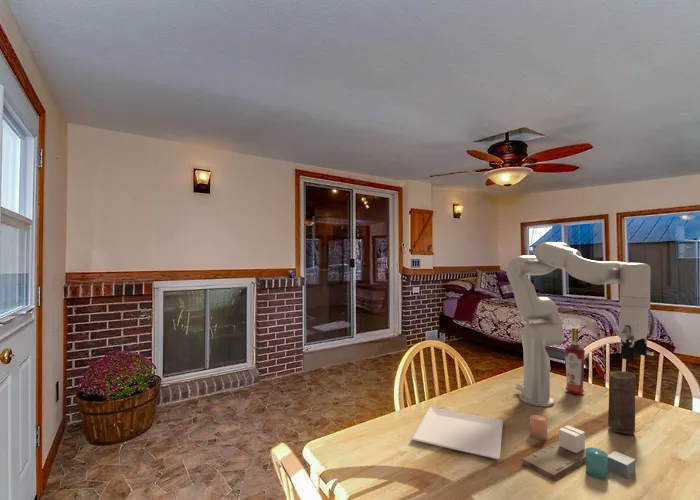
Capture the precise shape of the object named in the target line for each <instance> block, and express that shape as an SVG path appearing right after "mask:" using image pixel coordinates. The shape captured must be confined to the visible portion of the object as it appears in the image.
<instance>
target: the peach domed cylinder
mask: <svg viewBox="0 0 700 500" xmlns="http://www.w3.org/2000/svg"><path fill="white" fill-rule="evenodd" d="M529 417H530V419H529V420H530V421H529V425H530V426H529V429H530V432H529V434H530V437H531V438H533V439H535V440H537V441H547V440H548V419H547V418H546V417H544V416H543V415H539V414H532V415H530V416H529Z"/></svg>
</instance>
